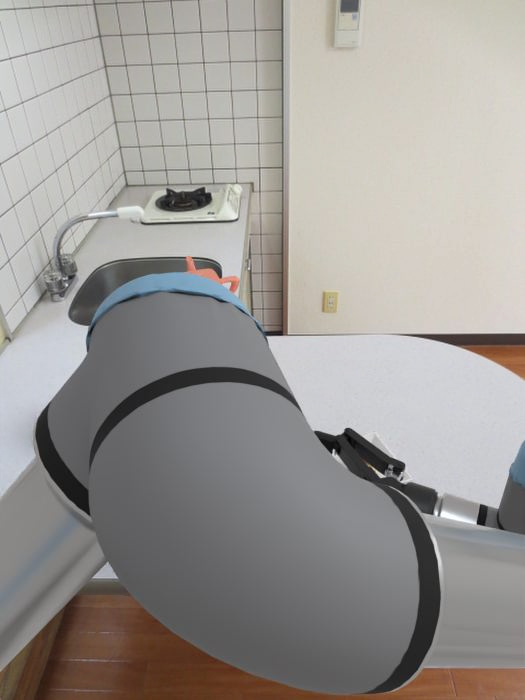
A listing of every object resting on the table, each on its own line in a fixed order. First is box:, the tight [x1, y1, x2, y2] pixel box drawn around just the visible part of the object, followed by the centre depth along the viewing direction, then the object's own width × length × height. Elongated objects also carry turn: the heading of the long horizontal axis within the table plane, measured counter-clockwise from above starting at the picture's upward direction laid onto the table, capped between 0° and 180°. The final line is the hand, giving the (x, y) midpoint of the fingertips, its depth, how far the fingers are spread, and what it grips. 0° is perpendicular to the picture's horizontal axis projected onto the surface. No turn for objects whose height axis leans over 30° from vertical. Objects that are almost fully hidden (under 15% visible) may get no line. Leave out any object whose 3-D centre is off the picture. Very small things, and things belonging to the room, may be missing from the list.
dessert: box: [332, 431, 414, 484], centre depth 86 cm, size 12×12×5 cm
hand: (267, 466), depth 69 cm, fingers open, 13 cm apart
